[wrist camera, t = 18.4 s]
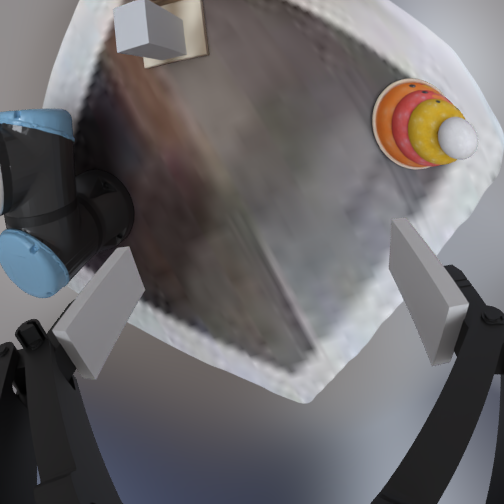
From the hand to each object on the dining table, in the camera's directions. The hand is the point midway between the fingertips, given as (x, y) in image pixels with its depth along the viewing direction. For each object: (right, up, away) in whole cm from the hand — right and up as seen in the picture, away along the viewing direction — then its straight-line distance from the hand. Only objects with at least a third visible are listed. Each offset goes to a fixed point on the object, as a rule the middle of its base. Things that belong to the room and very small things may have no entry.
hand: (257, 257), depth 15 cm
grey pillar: (-12, +32, +24) cm, 41 cm away
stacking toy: (+24, +20, +27) cm, 42 cm away
